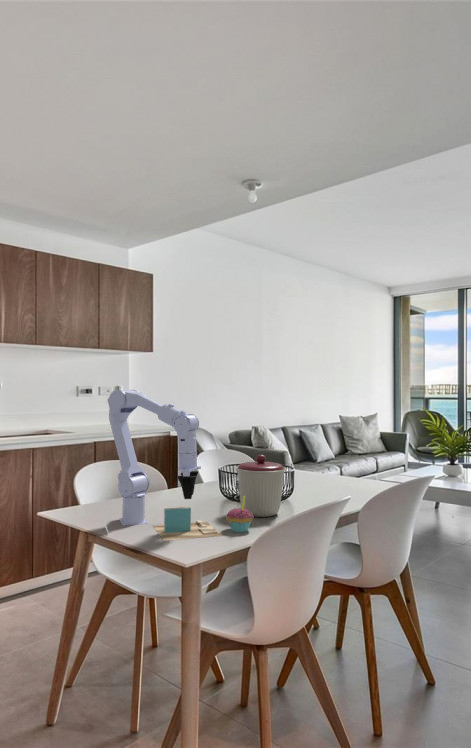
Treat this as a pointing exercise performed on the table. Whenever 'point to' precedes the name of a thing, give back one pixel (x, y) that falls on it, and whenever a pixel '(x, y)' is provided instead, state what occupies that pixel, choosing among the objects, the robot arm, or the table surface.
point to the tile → (177, 519)
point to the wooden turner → (205, 528)
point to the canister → (261, 486)
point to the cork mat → (185, 533)
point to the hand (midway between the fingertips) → (189, 496)
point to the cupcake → (240, 518)
